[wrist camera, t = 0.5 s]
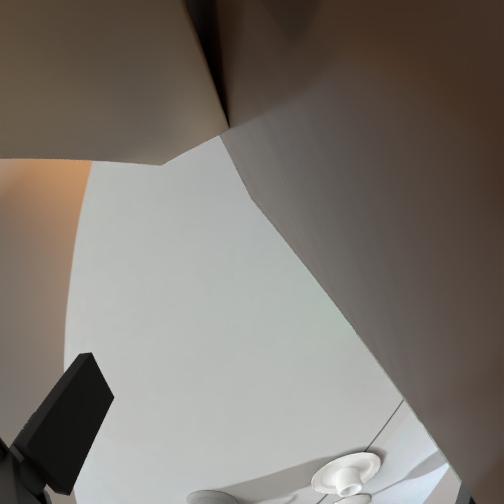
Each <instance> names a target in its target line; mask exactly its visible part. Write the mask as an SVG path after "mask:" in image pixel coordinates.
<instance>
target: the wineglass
mask: <svg viewBox="0 0 504 504" xmlns="http://www.w3.org/2000/svg"><path fill="white" fill-rule="evenodd" d="M370 499H371V498H370V496H369V495H366V494H358V495H353V496H349V497H346V498H344V499H342V500H339V501H338V502H336V503H334V504H368V503H369V502H370Z"/></svg>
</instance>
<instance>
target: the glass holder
mask: <svg viewBox="0 0 504 504" xmlns="http://www.w3.org/2000/svg"><path fill="white" fill-rule="evenodd" d="M187 503H188V504H237V502H236V500H235V498H234V497H232V496H231V495H228V494H226V493H223V492H218V491H197V492H194V493H191V494H190V495H188V497H187Z"/></svg>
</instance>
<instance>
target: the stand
mask: <svg viewBox="0 0 504 504" xmlns="http://www.w3.org/2000/svg"><path fill="white" fill-rule="evenodd" d="M186 3H187V5H188V8H189V11H190V14H191V17H192V20H193V22H194V25H195V28H196V31H197V34H198V37H199V40H200V42H201V45H202V48H203V51H204V54H205V57H206V60H207V63H208V66H209V69H210V72H211V75H212V77H213V80H214V83H215V86H216V89H217V92H218V95H219V98H220V101H221V104H222V107H223V110H224V113H225V116H226V119H227V122H228V125H229V130H228V131H226V132H224V133H222V134H220V137H221V139H222V141H223V143H224V145H225V147H226V149H227V151H228V153H229V155H230V157H231V159H232V161H233V163H234V165H235V167H236V169H237V171H238V173H239V175H240V177H241V179H242V181H243V183H244V185H245V187H246V189H247V191H248V193H249V195H250V197H251V199H252V200H253V201H254V203H255V204H256V205H257V206H258V207H259V209H260V210H261V211H262V212H263V214H264V215H265V216H266V217H267V219H268V220H269V221H270V222H271V223H272V225H273V226H274V227H275V228H276V230H277V231H278V232H279V233H280V235H281V236H282V237H283V238H284V240H285V241H286V242H287V243H288V245H289V246H290V247H291V248H292V250H293V251H294V252H295V253H296V255H297V256H298V257H299V259H300V260H301V261H302V262H303V264H304V265H305V266H306V267H307V269H308V270H309V271H310V273H311V274H312V275H313V276H314V278H315V279H316V280H317V282H318V283H319V284H320V285H321V287H322V288H323V289H324V291H325V292H326V293H327V294H328V296H329V297H330V298H331V300H332V301H333V302H334V304H335V305H336V306H337V307H338V309H339V310H340V311H341V313H342V314H343V315H344V317H345V318H346V319H347V321H348V322H349V323H350V325H351V326H352V327H353V329H354V330H355V331H356V333H357V334H358V335H359V337H360V338H361V339H362V341H363V342H364V343H365V345H366V346H367V347H368V349H369V350H370V351H371V353H372V354H373V355H374V357H375V358H376V359H377V361H378V362H379V364H380V365H381V366H382V368H383V369H384V370H385V372H386V373H387V374H388V376H389V377H390V379H391V380H392V381H393V383H394V384H395V385H396V387H397V388H398V390H399V391H400V392H401V394H402V395H403V397H404V398H405V399H406V401H407V402H408V404H409V405H410V406H411V408H412V409H413V411H414V412H415V414H416V415H417V416H418V418H419V419H420V421H421V422H422V424H423V425H424V426H425V428H426V429H427V431H428V432H429V434H430V435H431V436H432V438H433V439H434V441H435V442H436V444H437V445H438V447H439V448H440V450H441V451H442V453H443V454H444V456H445V457H446V459H447V460H448V461H449V463H450V464H451V466H452V467H453V469H454V470H455V472H456V473H457V475H458V476H459V478H460V480H461V481H462V483H463V484H464V486H465V487H466V489H467V490H468V492H469V493H470V495H471V496H472V498H473V500H474V501H475V503H476V504H504V0H186Z"/></svg>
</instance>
